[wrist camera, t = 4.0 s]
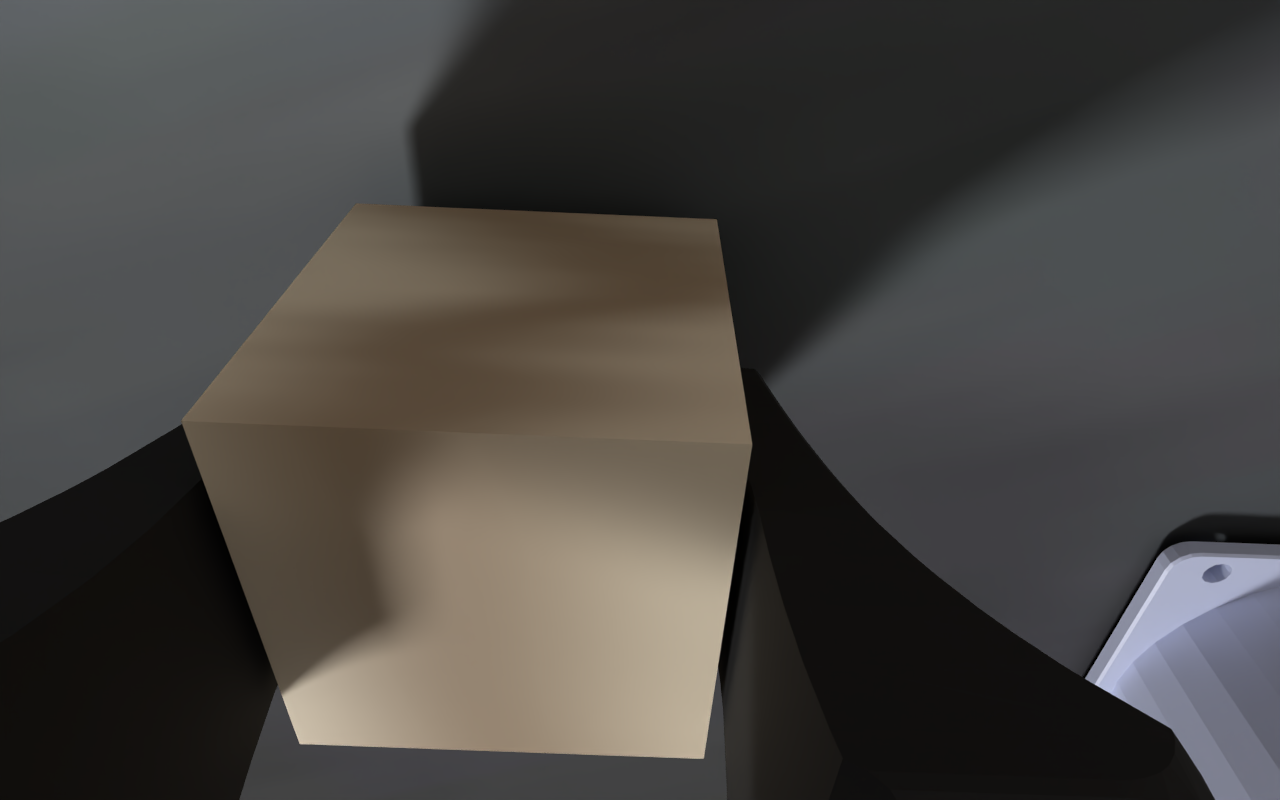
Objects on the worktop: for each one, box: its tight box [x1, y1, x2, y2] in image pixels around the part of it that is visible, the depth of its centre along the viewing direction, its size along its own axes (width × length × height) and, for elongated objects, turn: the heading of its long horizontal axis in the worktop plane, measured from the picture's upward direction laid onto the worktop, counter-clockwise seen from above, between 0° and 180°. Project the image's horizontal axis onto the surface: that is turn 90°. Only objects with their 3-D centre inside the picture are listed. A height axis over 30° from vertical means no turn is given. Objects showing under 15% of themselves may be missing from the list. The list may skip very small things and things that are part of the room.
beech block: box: [181, 204, 752, 759], centre depth 10 cm, size 5×5×5 cm
